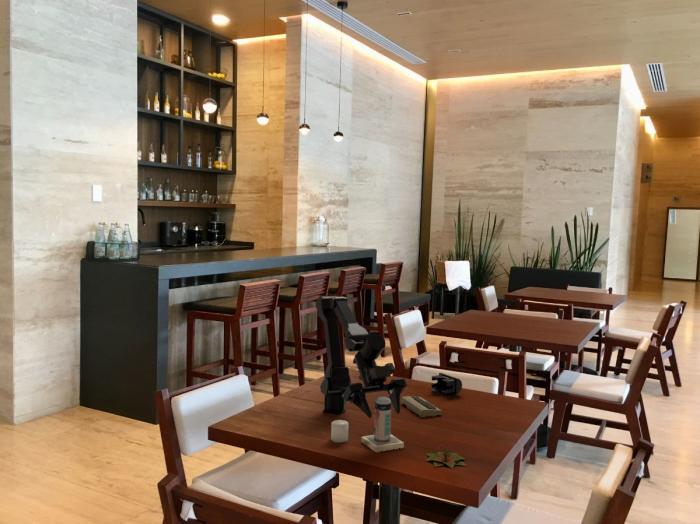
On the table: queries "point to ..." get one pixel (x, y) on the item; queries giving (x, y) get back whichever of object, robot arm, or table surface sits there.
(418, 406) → the computer
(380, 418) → the beer can
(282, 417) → the table surface
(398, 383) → the robot arm
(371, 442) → the stand
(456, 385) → the end cap
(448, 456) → the lily flower
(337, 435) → the white rounded cylinder
